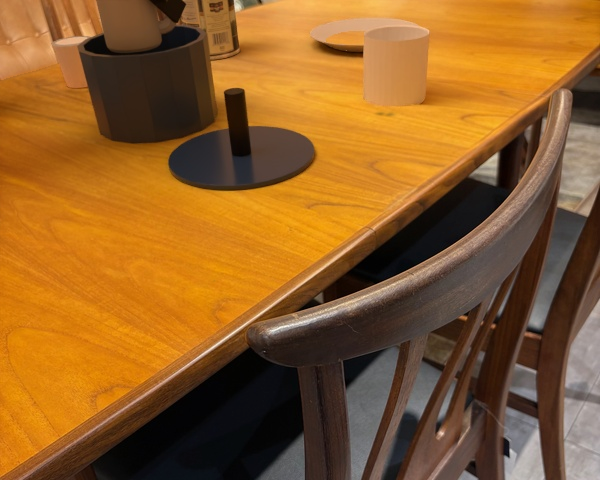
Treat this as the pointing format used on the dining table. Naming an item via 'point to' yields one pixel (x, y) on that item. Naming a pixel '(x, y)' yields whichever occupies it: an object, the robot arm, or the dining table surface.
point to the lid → (241, 153)
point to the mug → (395, 65)
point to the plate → (347, 25)
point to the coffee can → (214, 25)
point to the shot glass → (70, 60)
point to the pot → (151, 87)
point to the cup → (132, 25)
